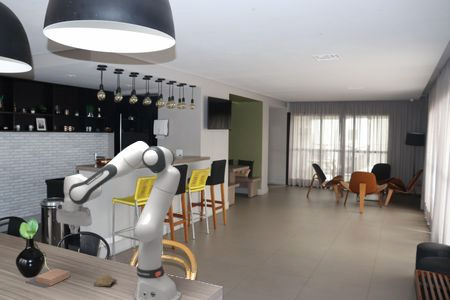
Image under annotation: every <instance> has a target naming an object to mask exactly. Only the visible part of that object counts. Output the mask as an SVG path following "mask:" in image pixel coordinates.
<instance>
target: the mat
mask: <svg viewBox="0 0 450 300" xmlns="http://www.w3.org/2000/svg"><path fill="white" fill-rule="evenodd" d="M70 277H71V275H70V274H69V277H68V278H70ZM25 283H26V284H30V285H34V286H36V287H37V286H38V287H41V288H45V289H46V288H48V287H50V286H49V285H45V284H41V283H37V282H36V277H34V278H33V279H30V280H26V281H25Z"/></svg>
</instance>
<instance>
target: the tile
mask: <svg viewBox="0 0 450 300" xmlns="http://www.w3.org/2000/svg"><path fill="white" fill-rule="evenodd" d="M69 275H70V271H68V270H64V269H60V268H53V269H50V270H48V271H46V272H43V273H41V274H38V275H36V276H35V278H36V282H37V283H41V284H45V285H49V286H48V287H50V286H53V285H55V284H57V283H59V282H62V281H64V280H65V279H68V278H70V277H69Z"/></svg>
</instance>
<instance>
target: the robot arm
mask: <svg viewBox="0 0 450 300" xmlns="http://www.w3.org/2000/svg"><path fill="white" fill-rule="evenodd" d="M175 158H176V157H175V154H174V152H173V151H172V150H171V149H170V148H168V147H163V146H160V145H158V146H155V145H154V146H153V145H151V146H149V145H148V144H147V143H146V142H145V141H142V140H141V141H140V140H139V141H136V142H134V143H132V144H130V145H129V146H127V147H125V148H124V149H122V150H121V151H120V152H119V153H117V155H116V156H114V157H113V158H112V159H111V160H110V161H109V162H108V163H107V164H106V165H104V167H101V169H99V170H98V171H97V172H95V173H94V174H93V175H91V176H90V177H85V175H83V174H82V173H80V172H77V173H72V174H68V175H66V176H65V178H64V181H63V194H64V199H63V202H62V203H59V204H56V208H55V209H57V210H56V214H55V215H56V218H55V219H56V221H57V223H58V224H63V225H64V224H65V225H68V227H69V229H70V234H75V235H76V234H78V232H79V231H78V230H79V228H80V227H85V228H86V227H89V226H91V225H92V223H93V219H92V214H91V209H89V207H87V206H84V204H85V203H87V202H90V201H92V200H96V199H97V198H99V197H100V196H101V194H102V192H103V187H102V186H103V185H105V184H106V183H108V182H109V181H110V182H111V180H114V179H117V178H122V177H125V176H127V175H129V174H131V173H133V172H134V171H136V170H137V169H138V168H140V167H141V166H143V165H144V166H145V167H146V168H147V169H148V170H150V171H151V172H152V173H153V174H156V179H155V181H154V183H153V186H152V188H151V191H150V194H149V196H148V199H147V201H146V203H145V205H144V207H143V209H142V211H141V213H140V216H139V218H138V220H137V222H136V225H135V228H134V236H135V238H136V239H137V241H139V243H138V249H137V266H136V276H137V280H136V287H135V291H134V295H133V297H134V298H135V300H180V299H181V298H182V292H180V291H178V290H177V286H176V282H174V281H173V280H172V279H171V278H170V277H169V276H168V275H167V274H166V273H165V271H166V270H167V267H164V266H163V264H162V246H163V239H164V238H163V237H164V222H165V219H166V217H167V215H168V212H169V210H170V208H171V205H172V203H173V200H174V198H175V196H176V193H177V191H178V187H179V184H180V180H181V179H180V178H181V173H180V171H179V169H178V168H176V167H175V166H173V165H174V163H175Z"/></svg>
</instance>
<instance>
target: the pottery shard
mask: <svg viewBox="0 0 450 300" xmlns="http://www.w3.org/2000/svg"><path fill="white" fill-rule="evenodd" d="M114 282H115V283H116V282H117V279H116V278H114V277H112V276H111V275H110V274H105V275H101V276H99V277H98V278H97V279H96V280H95V281H94V283H93V286H95V287H96V286H97V287H109V286H111V284H113V283H114Z"/></svg>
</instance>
